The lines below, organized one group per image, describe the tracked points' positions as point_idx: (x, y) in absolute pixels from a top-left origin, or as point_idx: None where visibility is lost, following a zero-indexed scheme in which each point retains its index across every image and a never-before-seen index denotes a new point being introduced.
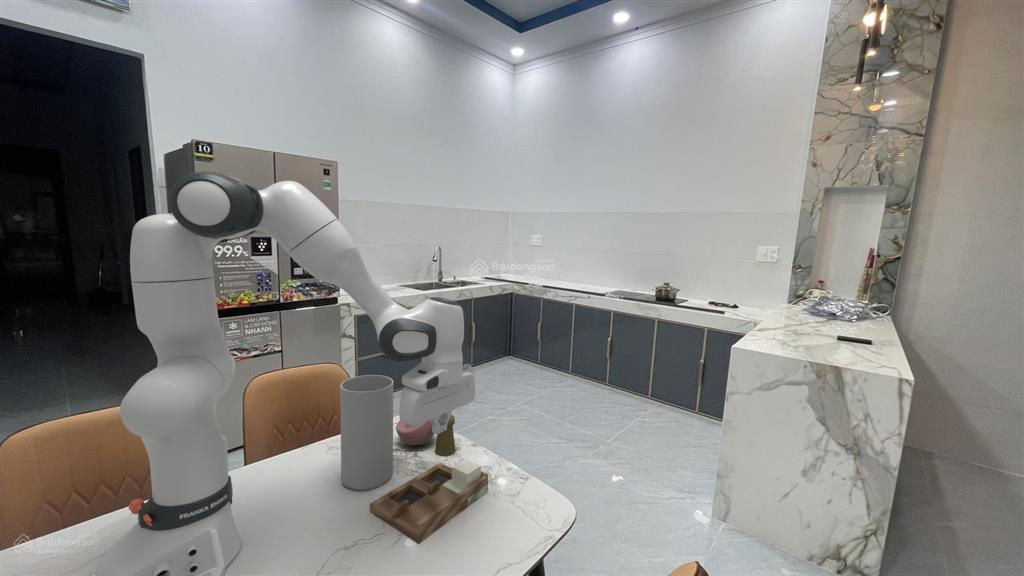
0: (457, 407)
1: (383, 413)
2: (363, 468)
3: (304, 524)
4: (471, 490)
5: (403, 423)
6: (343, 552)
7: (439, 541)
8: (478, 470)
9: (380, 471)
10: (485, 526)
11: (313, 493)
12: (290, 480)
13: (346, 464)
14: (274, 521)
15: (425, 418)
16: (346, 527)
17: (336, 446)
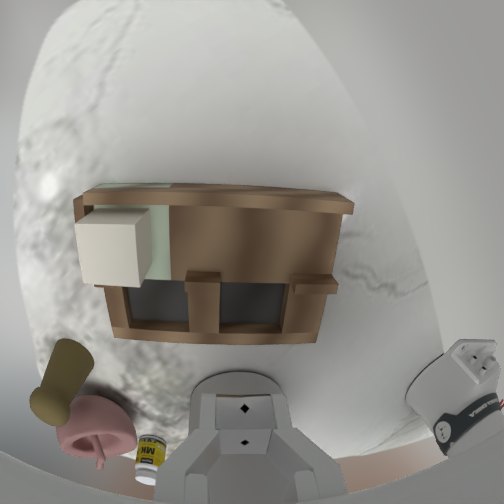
0: (98, 496)
1: None
2: None
3: (372, 367)
4: (151, 190)
5: (117, 448)
6: (400, 284)
7: (308, 159)
8: (89, 220)
9: (247, 394)
10: (206, 100)
11: (315, 410)
12: None
13: None
14: (379, 389)
15: (473, 469)
16: (357, 326)
17: None
